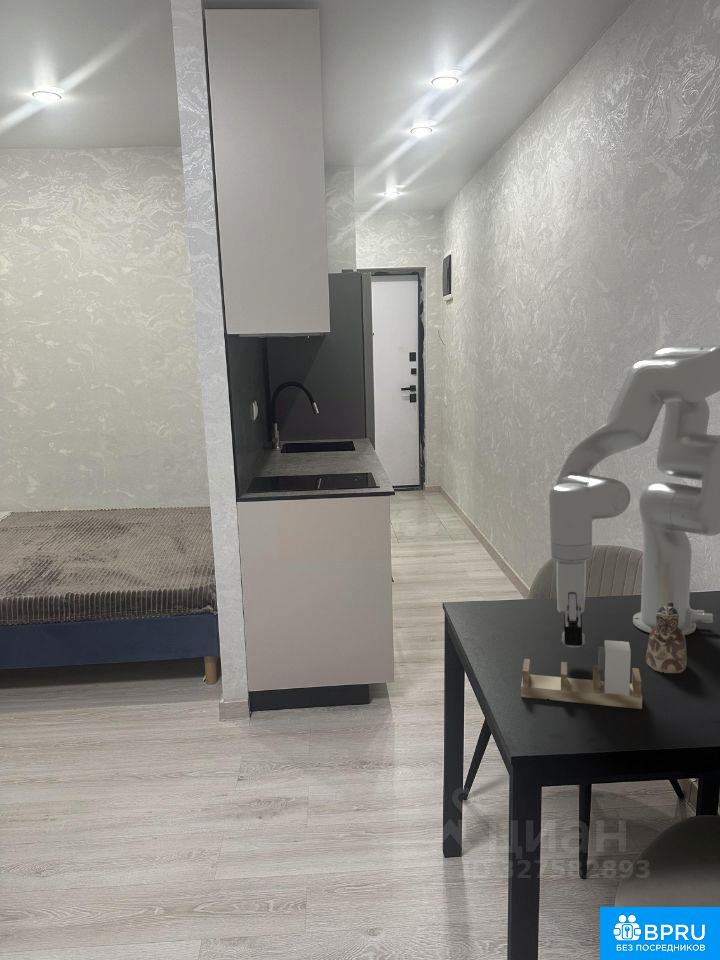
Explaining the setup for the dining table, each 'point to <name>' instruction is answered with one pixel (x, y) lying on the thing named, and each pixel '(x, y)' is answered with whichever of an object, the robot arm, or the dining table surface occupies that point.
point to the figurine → (667, 643)
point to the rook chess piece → (582, 634)
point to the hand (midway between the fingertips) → (573, 638)
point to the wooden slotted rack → (578, 688)
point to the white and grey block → (615, 666)
